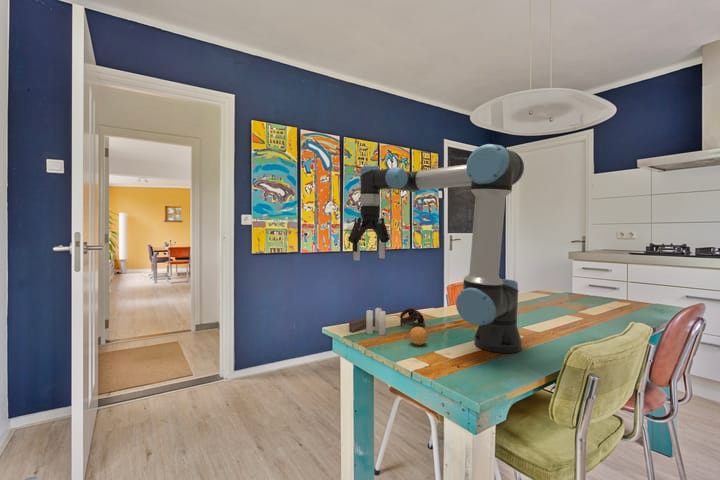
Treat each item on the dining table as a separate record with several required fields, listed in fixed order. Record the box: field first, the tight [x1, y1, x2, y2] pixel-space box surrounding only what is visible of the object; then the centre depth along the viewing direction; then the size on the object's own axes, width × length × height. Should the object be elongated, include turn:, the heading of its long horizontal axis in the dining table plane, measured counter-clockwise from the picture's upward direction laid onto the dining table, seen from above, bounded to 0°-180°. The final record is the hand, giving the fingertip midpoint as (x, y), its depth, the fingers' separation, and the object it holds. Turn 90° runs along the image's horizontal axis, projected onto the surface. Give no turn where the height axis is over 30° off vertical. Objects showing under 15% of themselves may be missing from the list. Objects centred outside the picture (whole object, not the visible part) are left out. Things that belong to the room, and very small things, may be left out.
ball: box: [409, 326, 428, 346], centre depth 123 cm, size 6×6×6 cm
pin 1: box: [365, 309, 374, 335], centre depth 135 cm, size 2×2×8 cm
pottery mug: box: [399, 307, 426, 328], centre depth 147 cm, size 12×10×8 cm
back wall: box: [348, 316, 375, 333], centre depth 141 cm, size 2×13×4 cm, turn 137°
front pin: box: [378, 310, 387, 336], centre depth 134 cm, size 2×2×8 cm
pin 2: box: [374, 307, 383, 332], centre depth 139 cm, size 2×2×8 cm
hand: (369, 259), depth 143 cm, fingers open, 13 cm apart
